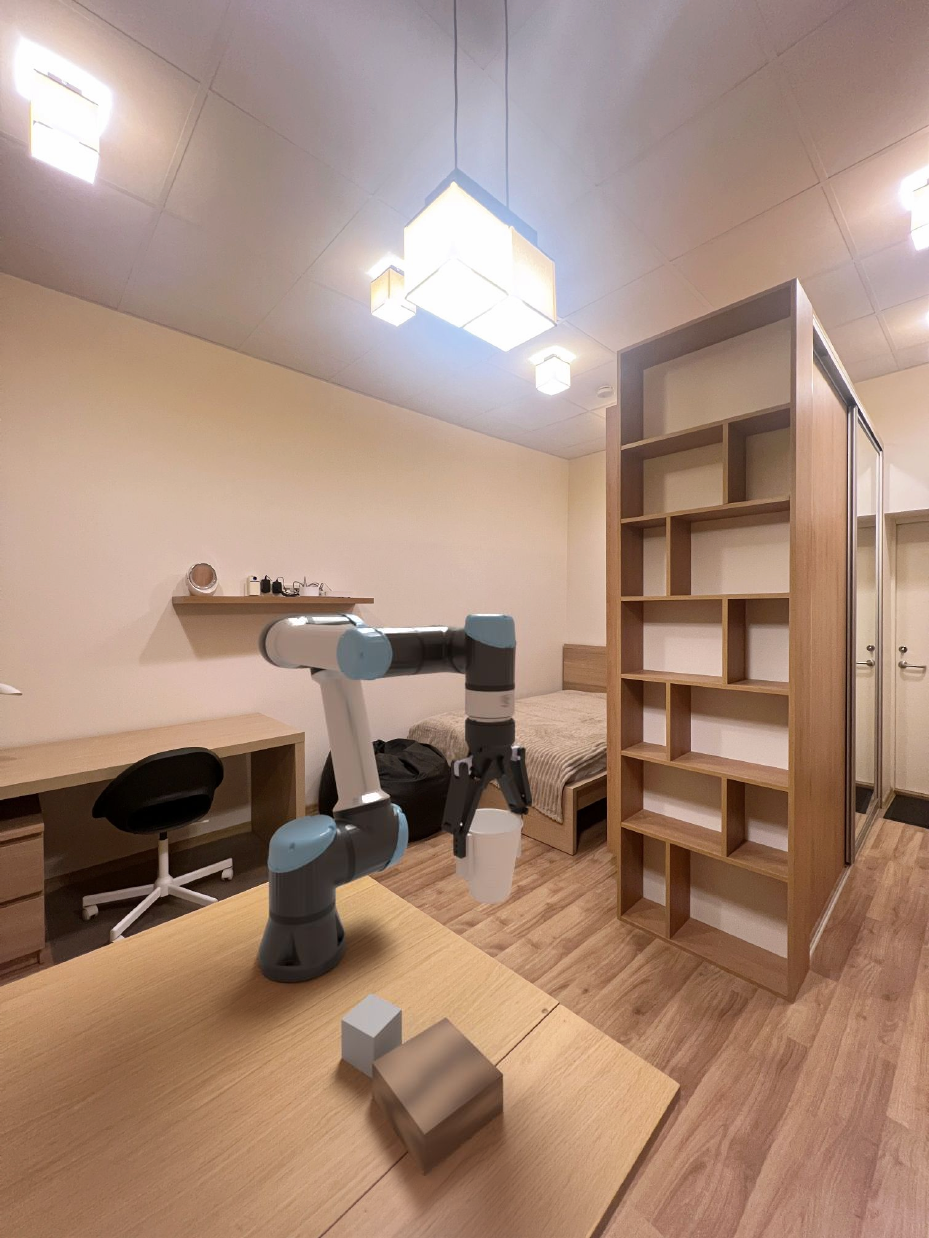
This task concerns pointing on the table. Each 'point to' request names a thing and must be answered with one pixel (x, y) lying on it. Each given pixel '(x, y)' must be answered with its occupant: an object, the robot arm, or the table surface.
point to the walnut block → (436, 1092)
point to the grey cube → (370, 1032)
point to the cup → (494, 853)
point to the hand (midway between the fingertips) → (489, 865)
